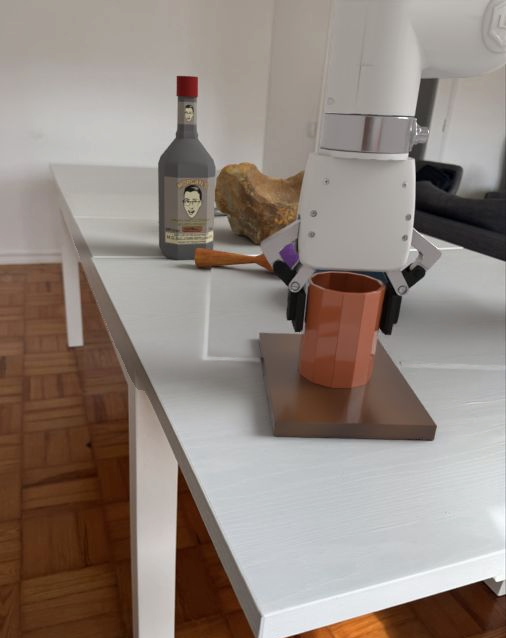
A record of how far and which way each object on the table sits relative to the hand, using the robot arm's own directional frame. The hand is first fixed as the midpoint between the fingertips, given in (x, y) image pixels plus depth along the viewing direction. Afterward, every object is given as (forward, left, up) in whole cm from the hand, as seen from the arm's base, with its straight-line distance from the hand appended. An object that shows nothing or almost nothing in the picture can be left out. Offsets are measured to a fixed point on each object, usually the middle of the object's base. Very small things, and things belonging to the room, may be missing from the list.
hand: (340, 327), depth 54 cm
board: (0, 0, -6) cm, 6 cm away
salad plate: (+14, -100, -6) cm, 101 cm away
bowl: (-7, -25, -6) cm, 27 cm away
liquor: (+18, -52, -6) cm, 55 cm away
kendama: (+6, -40, -6) cm, 41 cm away
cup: (0, 0, -5) cm, 5 cm away
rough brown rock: (+1, -67, -6) cm, 67 cm away
